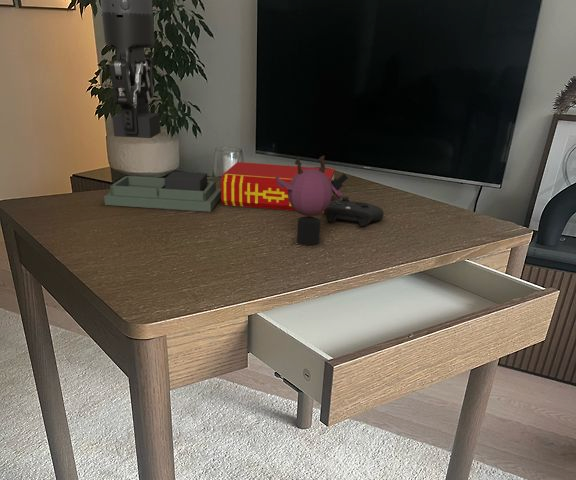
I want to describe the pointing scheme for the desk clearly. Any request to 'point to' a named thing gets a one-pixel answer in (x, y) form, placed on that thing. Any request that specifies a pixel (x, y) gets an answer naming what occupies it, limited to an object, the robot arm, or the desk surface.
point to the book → (260, 185)
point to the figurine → (311, 198)
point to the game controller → (353, 211)
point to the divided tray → (160, 195)
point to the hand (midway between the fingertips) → (137, 130)
